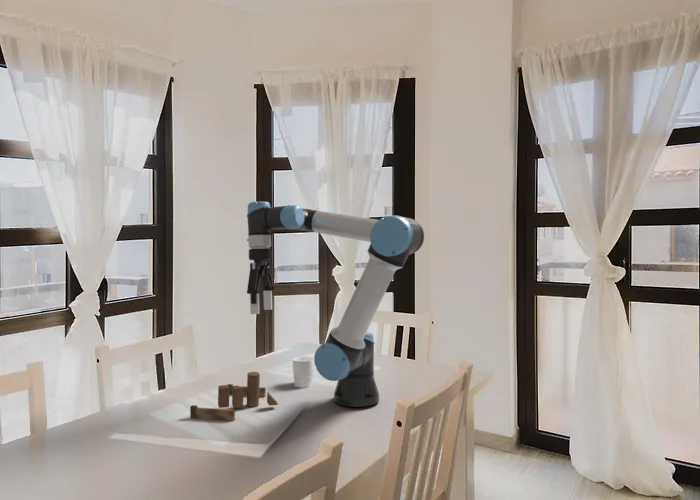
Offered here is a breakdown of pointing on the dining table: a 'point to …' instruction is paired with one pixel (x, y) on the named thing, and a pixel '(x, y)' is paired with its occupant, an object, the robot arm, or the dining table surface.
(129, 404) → the dining table surface
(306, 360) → the white cup
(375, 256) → the robot arm
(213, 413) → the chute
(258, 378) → the wooden block set
